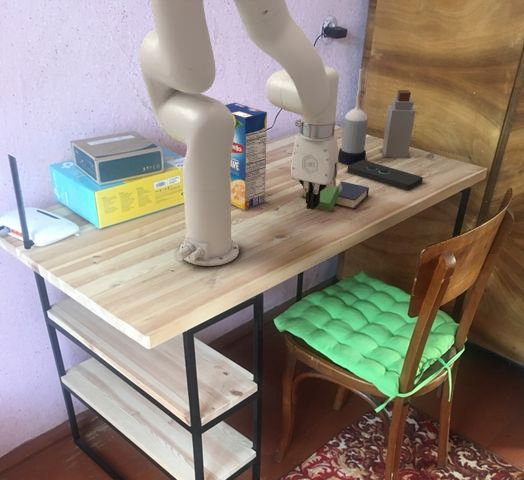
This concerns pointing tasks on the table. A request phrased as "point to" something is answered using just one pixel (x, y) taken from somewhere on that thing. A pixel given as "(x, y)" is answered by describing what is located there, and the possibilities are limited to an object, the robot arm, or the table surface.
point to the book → (350, 195)
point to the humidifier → (354, 132)
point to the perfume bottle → (399, 125)
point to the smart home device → (385, 174)
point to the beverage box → (248, 156)
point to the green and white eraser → (329, 196)
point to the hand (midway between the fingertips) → (312, 207)
